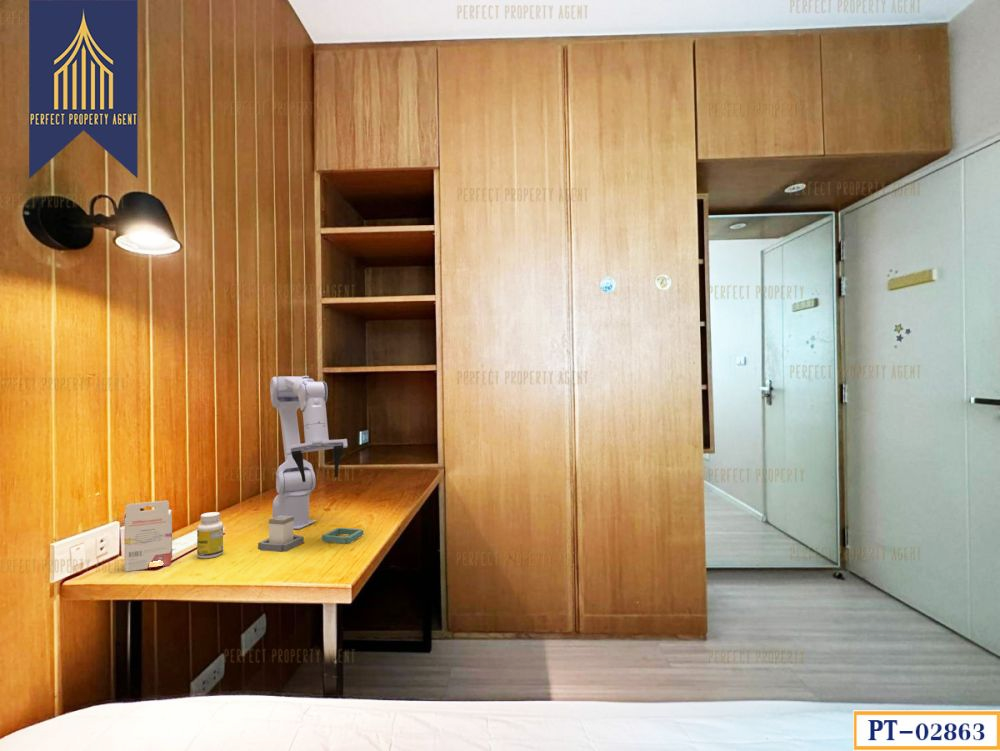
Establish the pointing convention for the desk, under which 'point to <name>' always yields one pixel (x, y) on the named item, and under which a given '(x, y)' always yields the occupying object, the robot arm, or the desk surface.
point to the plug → (281, 529)
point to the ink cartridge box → (147, 535)
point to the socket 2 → (341, 539)
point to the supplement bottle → (210, 536)
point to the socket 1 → (280, 547)
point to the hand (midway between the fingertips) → (320, 479)
